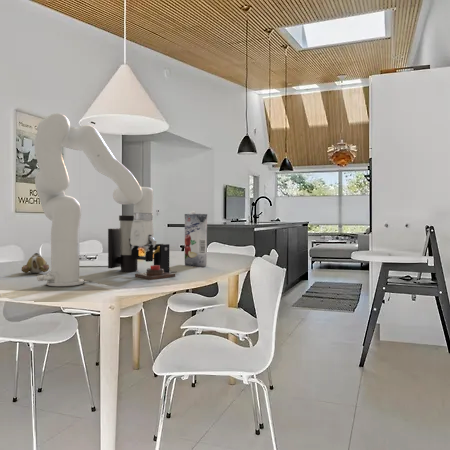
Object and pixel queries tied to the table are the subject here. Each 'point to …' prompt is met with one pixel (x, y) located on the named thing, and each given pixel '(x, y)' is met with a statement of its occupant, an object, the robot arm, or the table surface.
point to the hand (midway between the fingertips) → (141, 260)
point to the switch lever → (153, 253)
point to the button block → (155, 274)
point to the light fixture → (121, 246)
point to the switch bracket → (162, 257)
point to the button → (155, 267)
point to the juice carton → (195, 239)
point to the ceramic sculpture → (36, 264)
